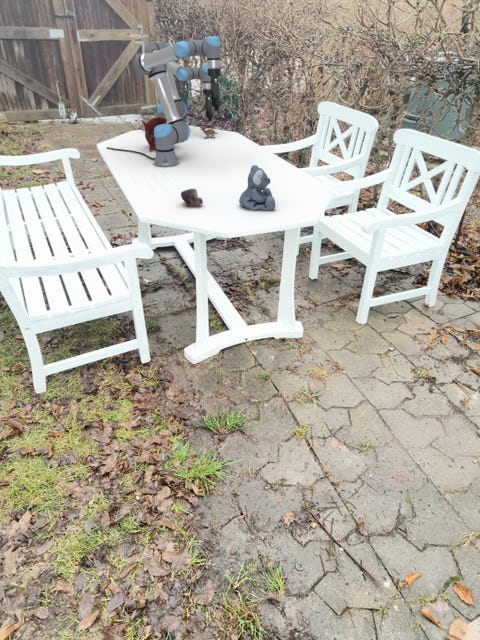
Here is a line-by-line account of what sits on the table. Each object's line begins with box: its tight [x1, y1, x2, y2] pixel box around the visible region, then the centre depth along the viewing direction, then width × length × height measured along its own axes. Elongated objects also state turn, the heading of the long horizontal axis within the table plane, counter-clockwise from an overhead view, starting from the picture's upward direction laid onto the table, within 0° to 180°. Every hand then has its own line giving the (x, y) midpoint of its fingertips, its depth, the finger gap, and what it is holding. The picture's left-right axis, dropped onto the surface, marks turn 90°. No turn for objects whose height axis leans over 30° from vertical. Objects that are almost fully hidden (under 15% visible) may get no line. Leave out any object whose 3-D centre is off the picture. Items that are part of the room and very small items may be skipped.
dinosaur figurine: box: [199, 124, 218, 140], centre depth 351 cm, size 14×6×9 cm, turn 100°
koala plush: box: [238, 164, 276, 211], centre depth 224 cm, size 17×18×20 cm
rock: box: [180, 188, 204, 207], centre depth 229 cm, size 12×9×10 cm
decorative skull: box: [141, 116, 167, 152], centre depth 324 cm, size 21×24×25 cm
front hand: (215, 108), depth 269 cm, fingers open, 13 cm apart
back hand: (208, 119), depth 346 cm, fingers open, 13 cm apart
